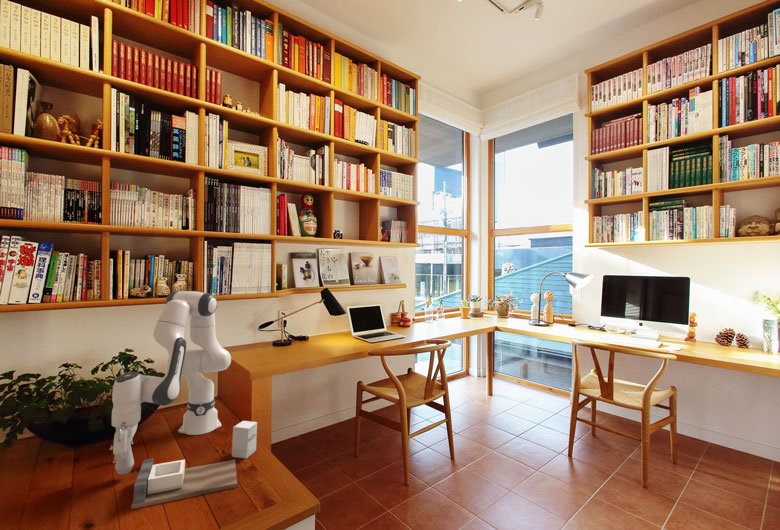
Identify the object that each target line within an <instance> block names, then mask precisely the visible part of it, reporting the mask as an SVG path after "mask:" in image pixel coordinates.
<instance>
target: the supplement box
mask: <svg viewBox="0 0 780 530" xmlns="http://www.w3.org/2000/svg"><path fill="white" fill-rule="evenodd" d="M257 431H258V422H257V421H250V420H242V421H241V422H238V423H237V424H236V425H234V426H232V444H231V457H234V458H240V459H248V458H249V457H250V456H252V455H253V454H254V453H255V452H256V451H257V437H258V436H257V435H258V432H257Z"/></svg>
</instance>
